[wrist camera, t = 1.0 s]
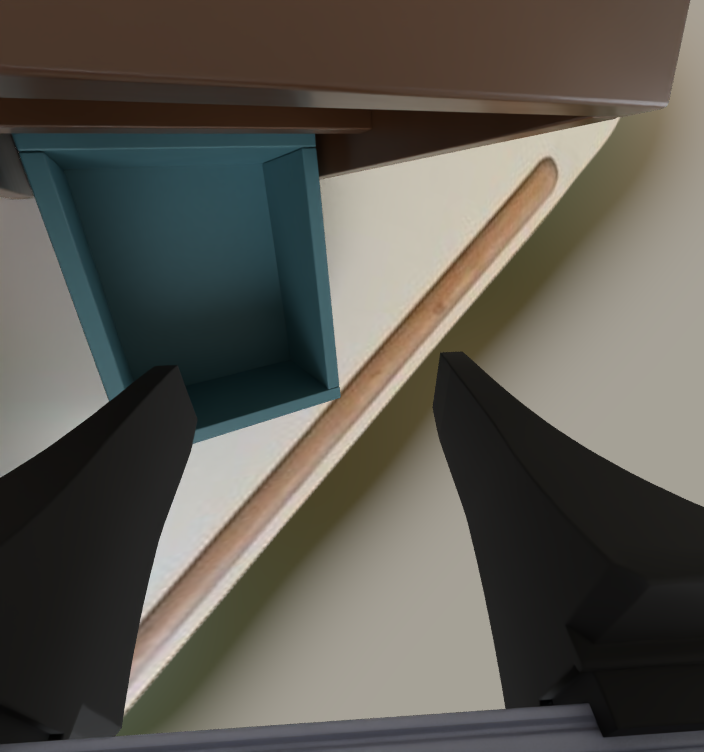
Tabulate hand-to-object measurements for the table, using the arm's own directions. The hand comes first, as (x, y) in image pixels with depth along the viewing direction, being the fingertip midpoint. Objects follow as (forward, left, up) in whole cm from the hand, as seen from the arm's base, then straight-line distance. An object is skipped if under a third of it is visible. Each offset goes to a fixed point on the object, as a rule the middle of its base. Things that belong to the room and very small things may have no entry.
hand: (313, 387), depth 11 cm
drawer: (+2, +1, -11) cm, 11 cm away
